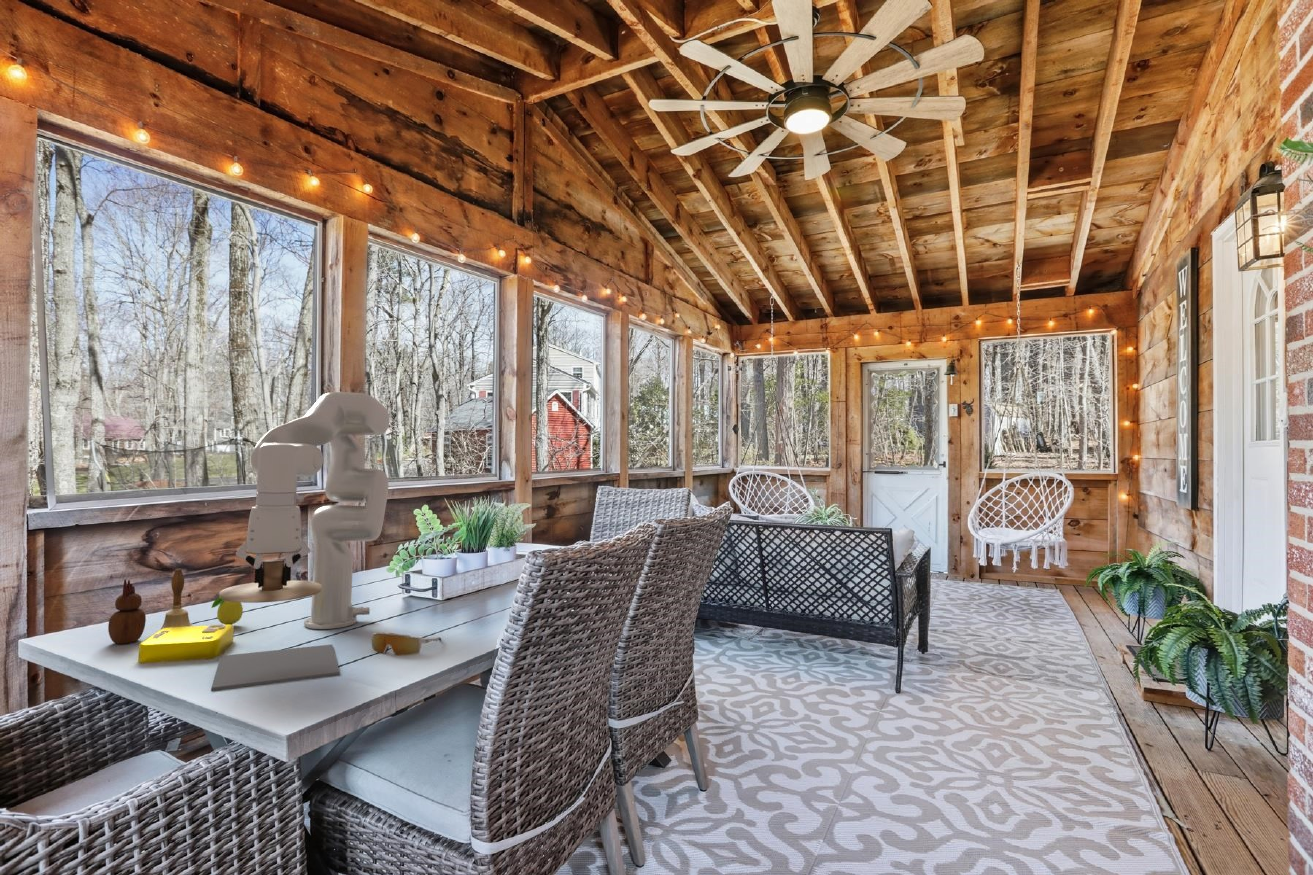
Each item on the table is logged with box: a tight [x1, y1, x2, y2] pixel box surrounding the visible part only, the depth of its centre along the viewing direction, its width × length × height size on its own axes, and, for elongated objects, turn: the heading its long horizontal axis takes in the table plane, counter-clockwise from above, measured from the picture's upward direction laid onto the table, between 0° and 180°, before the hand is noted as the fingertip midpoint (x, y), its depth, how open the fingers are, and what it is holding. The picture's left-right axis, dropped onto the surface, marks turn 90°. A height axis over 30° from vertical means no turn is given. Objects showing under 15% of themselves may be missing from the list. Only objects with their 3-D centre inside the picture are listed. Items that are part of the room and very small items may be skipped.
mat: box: [210, 643, 341, 692], centre depth 139 cm, size 22×22×1 cm
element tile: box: [137, 623, 235, 664], centre depth 148 cm, size 15×15×5 cm
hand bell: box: [159, 568, 193, 630], centre depth 161 cm, size 8×8×16 cm
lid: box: [218, 559, 322, 604], centre depth 140 cm, size 19×19×7 cm
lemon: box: [211, 596, 244, 625], centre depth 169 cm, size 7×6×10 cm
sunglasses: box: [371, 632, 442, 656], centre depth 156 cm, size 14×15×5 cm
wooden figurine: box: [107, 578, 147, 645], centre depth 153 cm, size 7×6×15 cm
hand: (272, 584), depth 140 cm, fingers closed on lid, 4 cm apart
